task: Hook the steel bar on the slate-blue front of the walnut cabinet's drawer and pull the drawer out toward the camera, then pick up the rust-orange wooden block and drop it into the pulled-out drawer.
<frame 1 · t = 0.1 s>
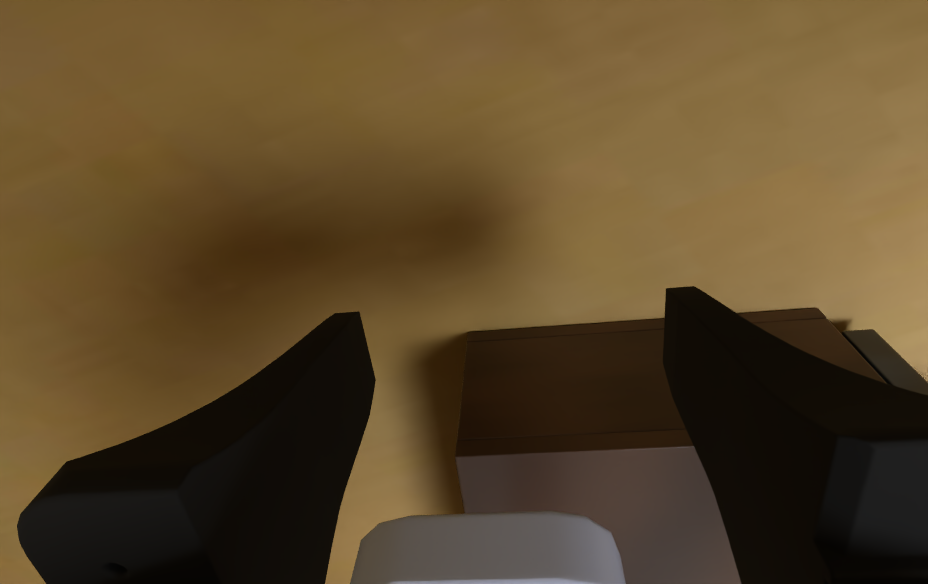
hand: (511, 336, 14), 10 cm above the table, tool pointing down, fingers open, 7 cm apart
drawer: (771, 490, 24), point 4 cm above the table, slide at 0.6 cm
cabinet: (634, 432, 28), on the table
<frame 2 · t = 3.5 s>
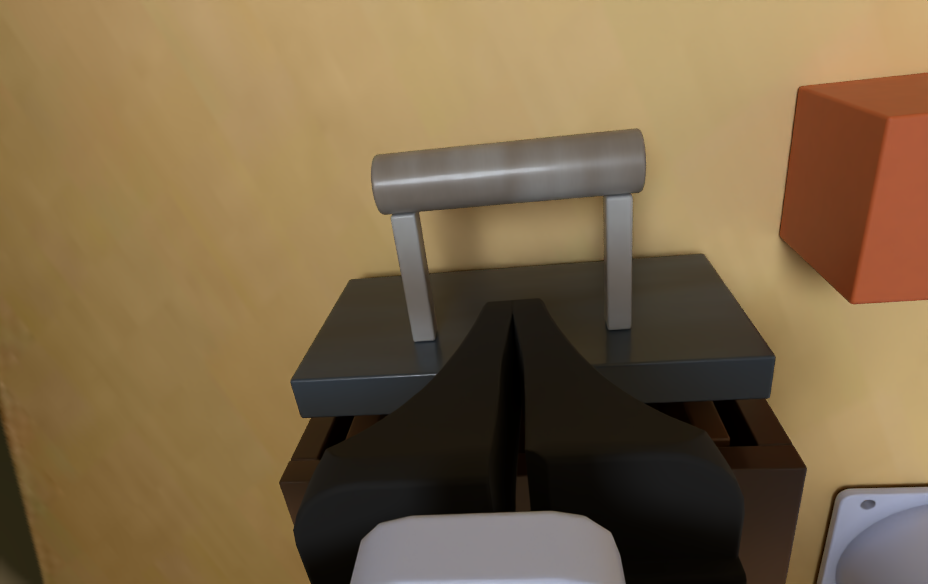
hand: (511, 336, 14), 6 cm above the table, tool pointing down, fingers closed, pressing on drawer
drawer: (530, 430, 18), point 4 cm above the table, slide at 1.3 cm, touching gripper
block: (870, 158, 17), on the table
cabinet: (538, 473, 24), on the table
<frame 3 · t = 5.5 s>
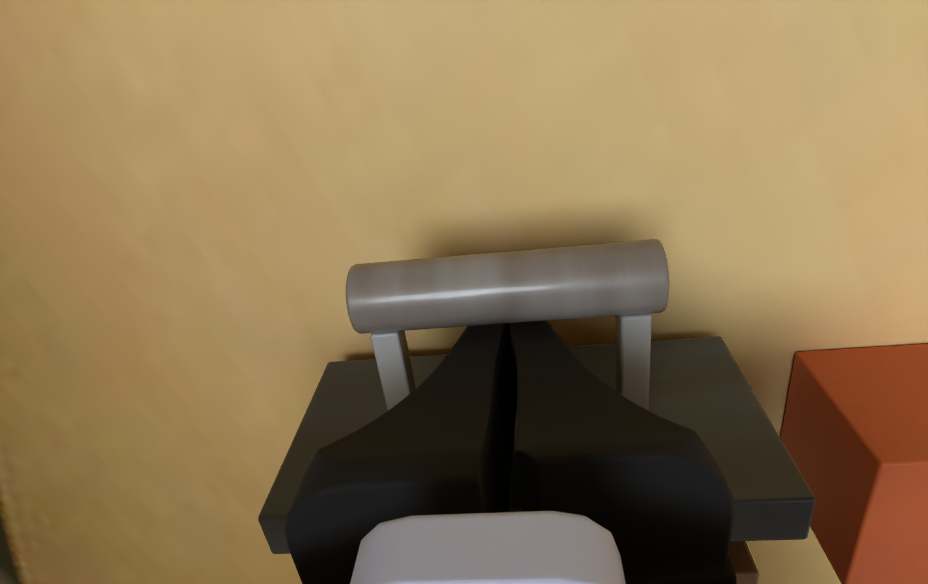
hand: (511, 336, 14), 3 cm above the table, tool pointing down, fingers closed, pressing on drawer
drawer: (530, 533, 17), point 4 cm above the table, slide at 7.1 cm, touching gripper
block: (861, 406, 18), on the table
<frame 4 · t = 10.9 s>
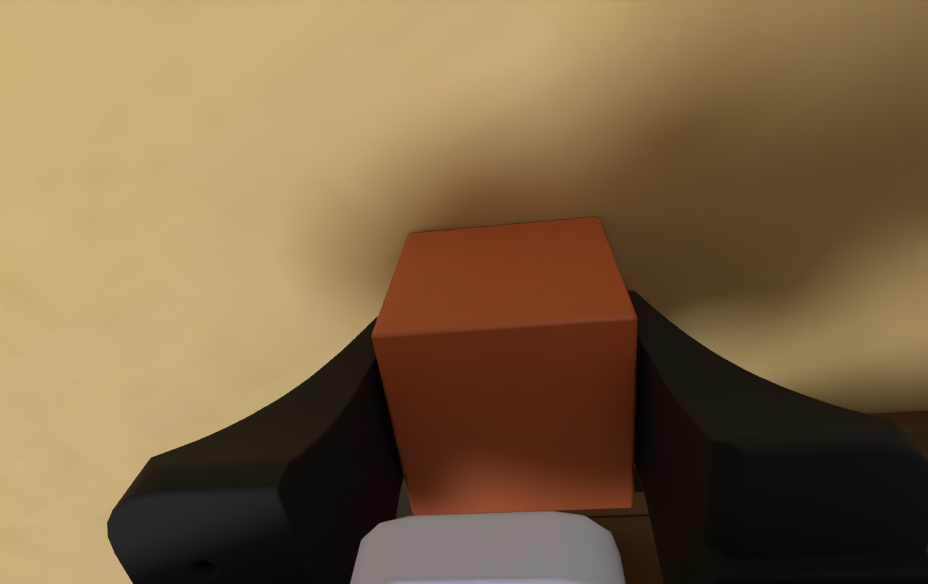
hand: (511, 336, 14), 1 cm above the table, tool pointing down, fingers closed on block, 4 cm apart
block: (509, 306, 15), on the table, touching gripper
cabinet: (913, 562, 19), on the table
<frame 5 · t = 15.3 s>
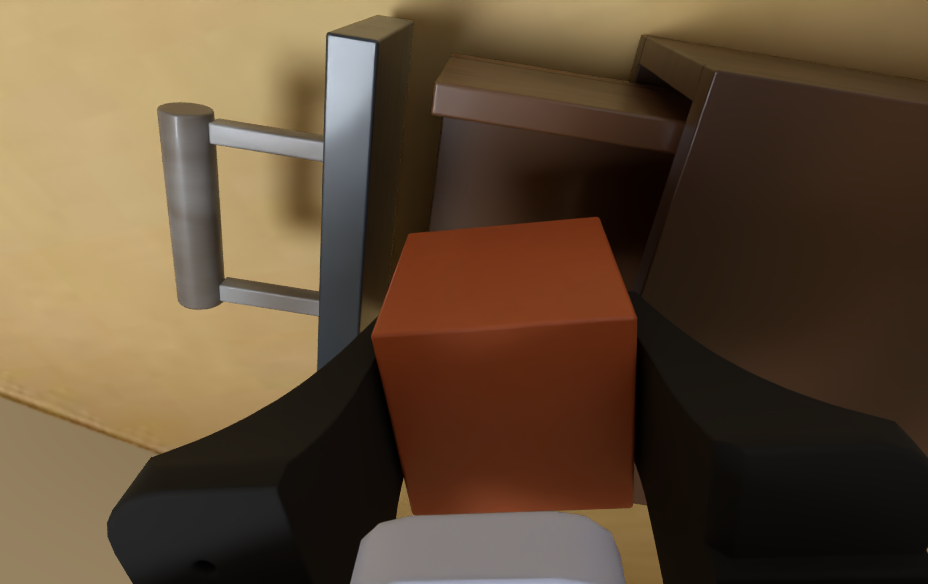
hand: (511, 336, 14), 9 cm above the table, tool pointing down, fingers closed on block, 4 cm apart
drawer: (480, 241, 18), point 4 cm above the table, slide at 7.1 cm
block: (509, 306, 15), point 8 cm above the table, touching gripper
cabinet: (784, 247, 22), on the table
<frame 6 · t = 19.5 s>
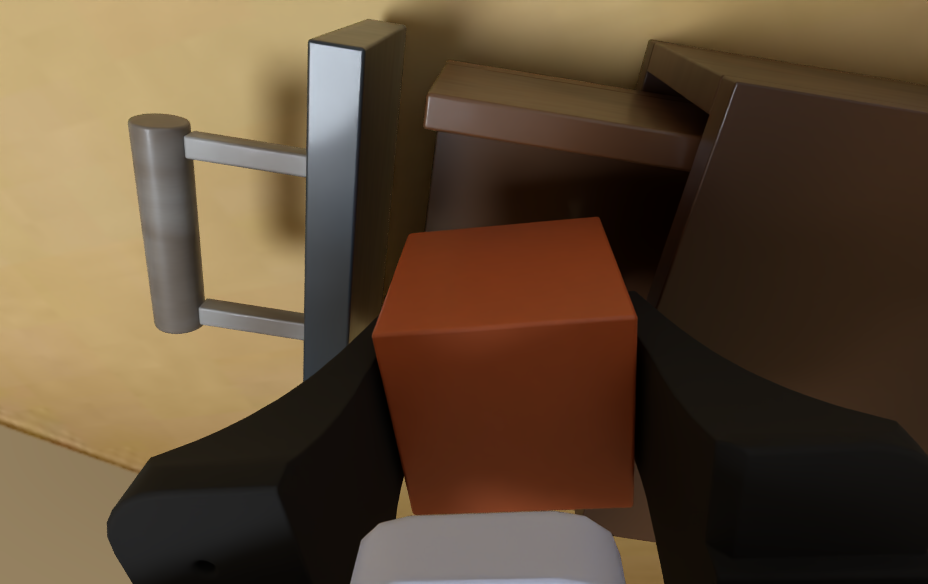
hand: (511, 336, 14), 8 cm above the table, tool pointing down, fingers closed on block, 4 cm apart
drawer: (478, 260, 17), point 4 cm above the table, slide at 7.1 cm
block: (510, 306, 15), point 6 cm above the table, touching gripper
cabinet: (798, 263, 21), on the table
when the fingers open (10 cm above the table, at t = 27.0 s): block drops 6 cm, resting on drawer.
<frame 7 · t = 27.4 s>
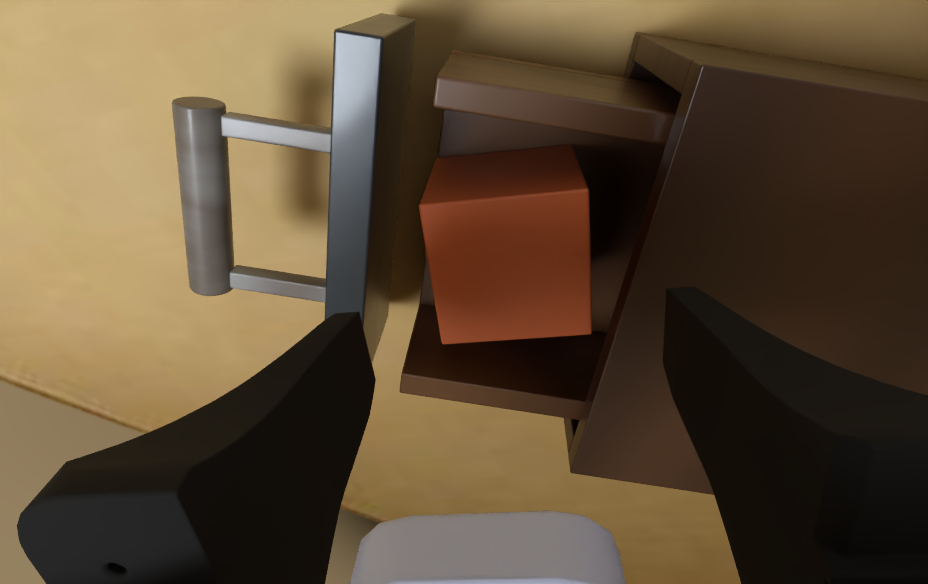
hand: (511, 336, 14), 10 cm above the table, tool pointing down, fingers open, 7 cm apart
drawer: (480, 230, 19), point 4 cm above the table, slide at 7.2 cm, touching block
block: (508, 214, 21), point 2 cm above the table, touching drawer
cabinet: (774, 238, 23), on the table
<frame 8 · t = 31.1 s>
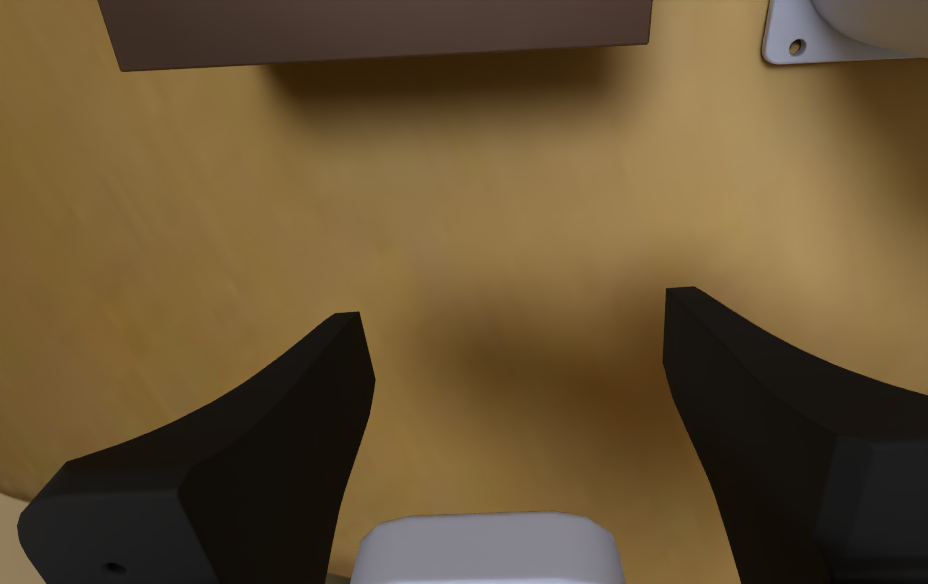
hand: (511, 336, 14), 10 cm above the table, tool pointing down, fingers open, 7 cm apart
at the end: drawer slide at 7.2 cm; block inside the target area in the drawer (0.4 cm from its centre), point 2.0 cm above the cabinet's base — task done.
